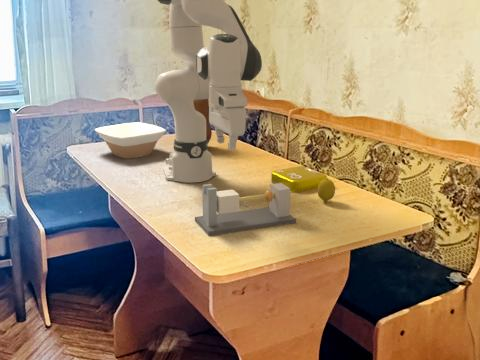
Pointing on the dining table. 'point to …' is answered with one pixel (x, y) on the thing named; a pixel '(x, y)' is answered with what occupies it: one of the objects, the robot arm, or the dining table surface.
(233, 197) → the sleeve
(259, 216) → the cord rig
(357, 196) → the dining table surface
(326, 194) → the lemon
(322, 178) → the element tile
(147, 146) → the bowl
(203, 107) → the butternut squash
